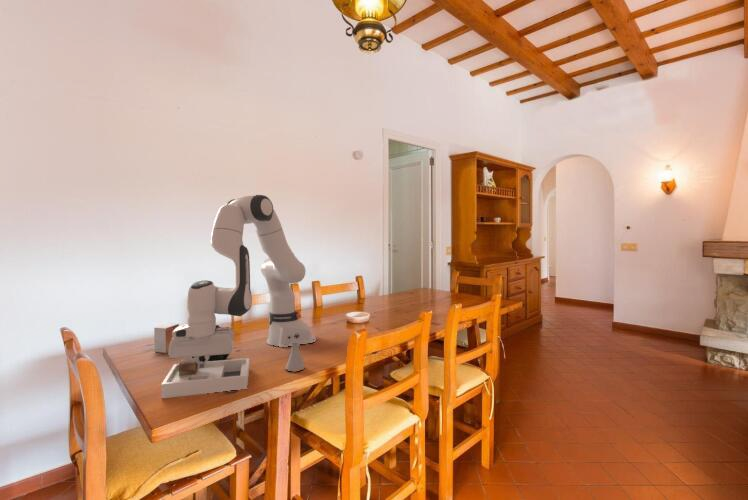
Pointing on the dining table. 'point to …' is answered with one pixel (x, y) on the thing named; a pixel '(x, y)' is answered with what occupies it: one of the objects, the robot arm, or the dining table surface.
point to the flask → (295, 358)
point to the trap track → (207, 379)
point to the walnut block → (187, 367)
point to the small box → (163, 337)
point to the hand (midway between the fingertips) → (202, 367)
